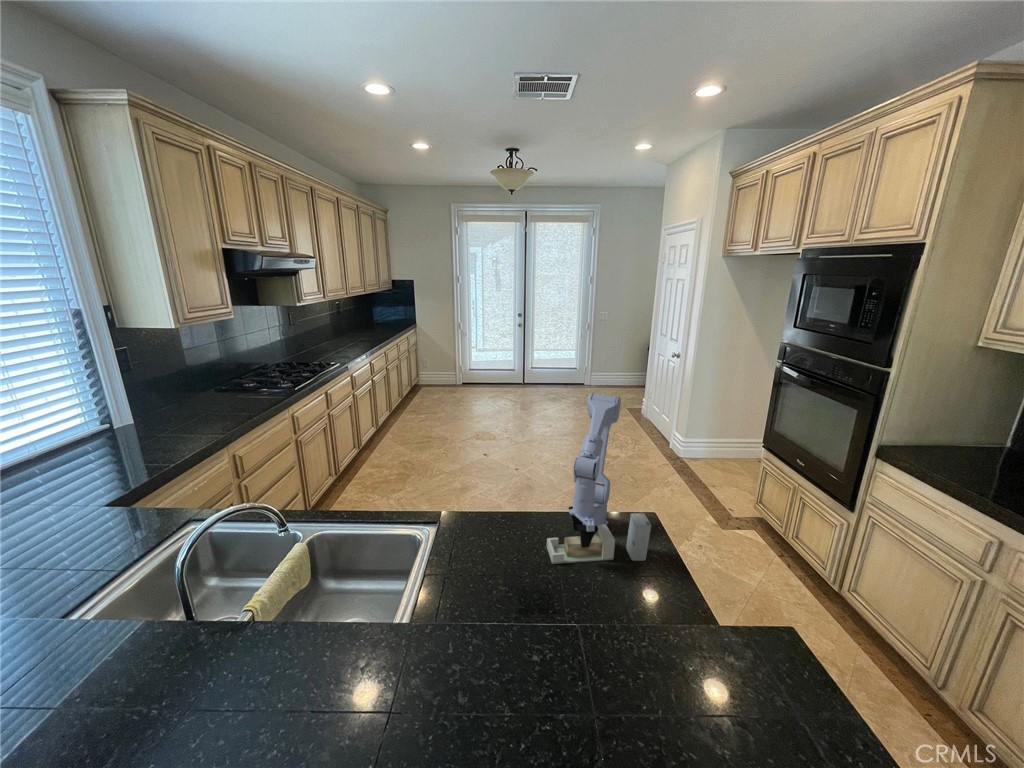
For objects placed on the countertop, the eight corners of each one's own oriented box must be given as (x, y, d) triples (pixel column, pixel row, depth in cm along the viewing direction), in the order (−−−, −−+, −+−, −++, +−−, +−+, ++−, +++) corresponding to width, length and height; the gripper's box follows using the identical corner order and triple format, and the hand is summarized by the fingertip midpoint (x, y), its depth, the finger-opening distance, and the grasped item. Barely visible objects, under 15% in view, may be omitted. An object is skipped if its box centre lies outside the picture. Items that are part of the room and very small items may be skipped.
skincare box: (625, 548, 122) (629, 512, 119) (639, 547, 122) (644, 512, 119) (632, 561, 116) (636, 524, 113) (647, 561, 116) (651, 524, 113)
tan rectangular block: (602, 546, 121) (603, 534, 120) (606, 553, 118) (607, 542, 117) (563, 548, 120) (564, 537, 119) (567, 556, 116) (567, 544, 115)
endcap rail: (604, 543, 123) (605, 524, 122) (613, 559, 116) (615, 539, 114) (546, 546, 121) (547, 527, 119) (552, 564, 114) (553, 543, 112)
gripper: (564, 484, 120) (561, 524, 124) (578, 511, 107) (574, 555, 110) (586, 483, 121) (583, 523, 125) (603, 510, 107) (599, 553, 111)
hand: (581, 538), depth 117 cm, fingers open, 7 cm apart
